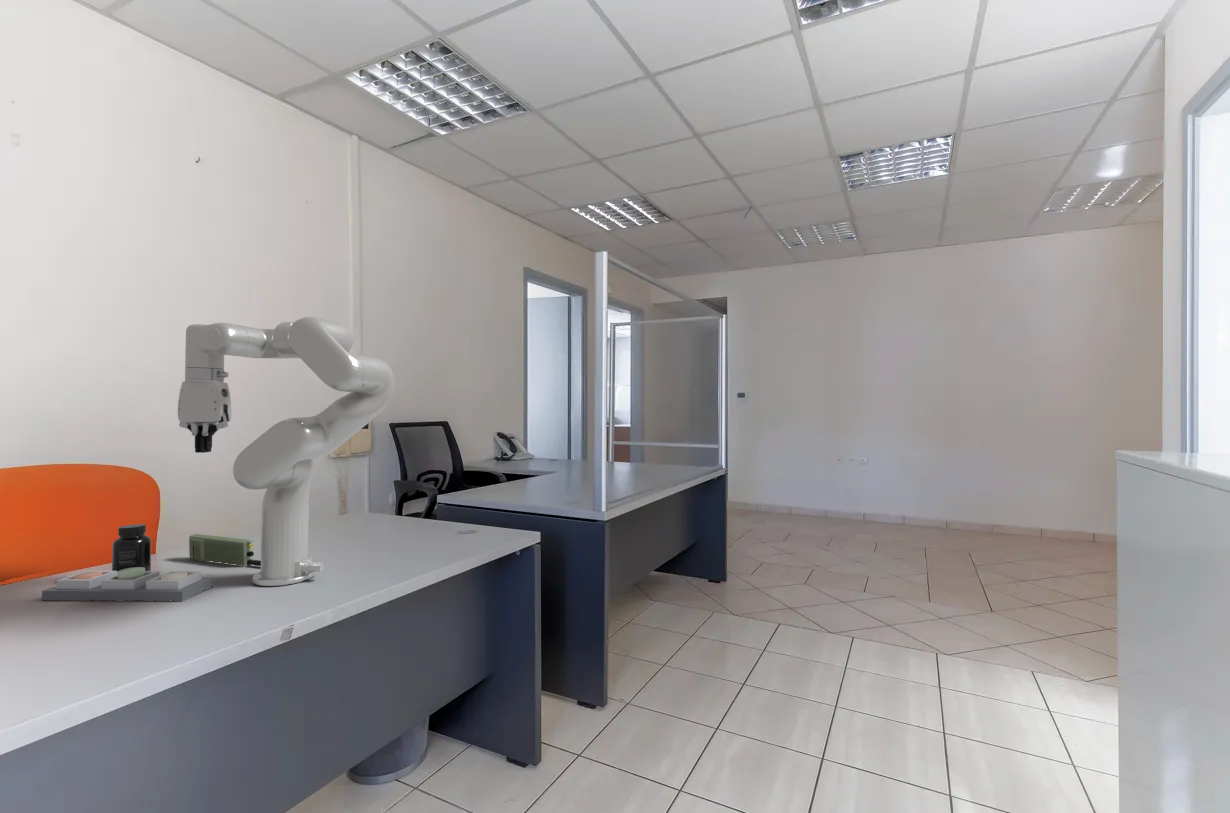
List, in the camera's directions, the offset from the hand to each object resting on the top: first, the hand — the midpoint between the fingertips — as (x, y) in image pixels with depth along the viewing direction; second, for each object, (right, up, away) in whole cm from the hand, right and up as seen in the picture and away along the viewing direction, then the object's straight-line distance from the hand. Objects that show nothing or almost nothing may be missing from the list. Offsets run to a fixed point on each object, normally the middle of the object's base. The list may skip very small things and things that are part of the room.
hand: (203, 452), depth 132 cm
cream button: (+5, -27, -15) cm, 31 cm away
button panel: (-4, -29, -15) cm, 33 cm away
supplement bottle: (-13, -29, -4) cm, 32 cm away
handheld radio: (+1, -30, +8) cm, 31 cm away
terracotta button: (-13, -27, -15) cm, 33 cm away
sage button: (-4, -26, -15) cm, 30 cm away
